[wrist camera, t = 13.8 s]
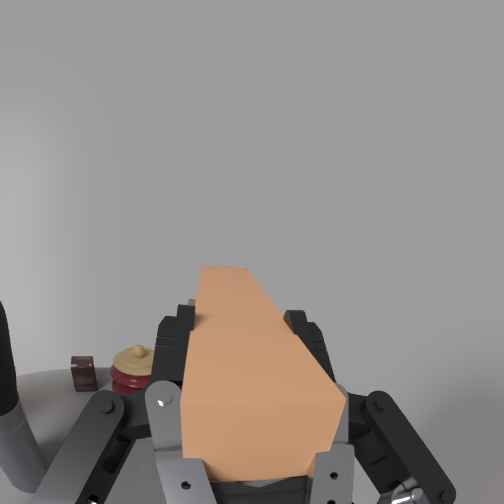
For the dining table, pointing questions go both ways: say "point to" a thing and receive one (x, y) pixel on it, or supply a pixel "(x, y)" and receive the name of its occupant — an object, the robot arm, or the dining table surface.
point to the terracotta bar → (251, 386)
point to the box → (83, 373)
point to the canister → (131, 370)
